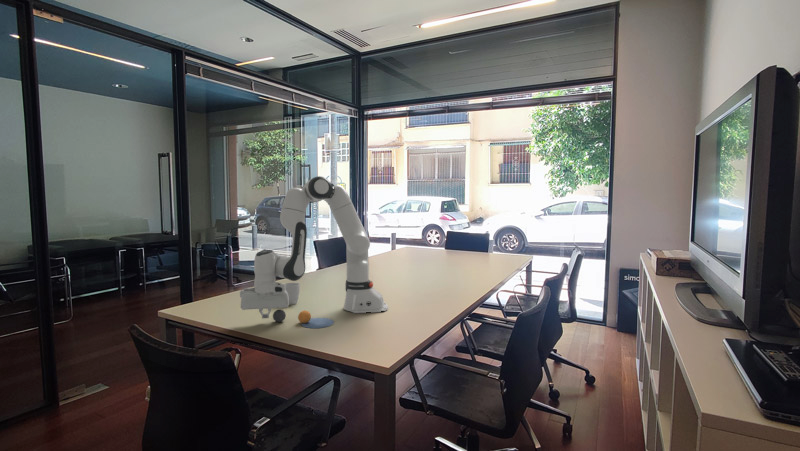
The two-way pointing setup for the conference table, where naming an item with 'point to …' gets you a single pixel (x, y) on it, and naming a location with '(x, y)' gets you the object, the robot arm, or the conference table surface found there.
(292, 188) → the robot arm
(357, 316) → the conference table surface
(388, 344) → the conference table surface
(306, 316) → the orange ball
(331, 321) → the blue mark
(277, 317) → the dark gray ball
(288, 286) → the cup
